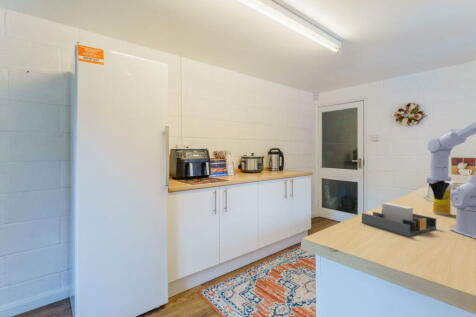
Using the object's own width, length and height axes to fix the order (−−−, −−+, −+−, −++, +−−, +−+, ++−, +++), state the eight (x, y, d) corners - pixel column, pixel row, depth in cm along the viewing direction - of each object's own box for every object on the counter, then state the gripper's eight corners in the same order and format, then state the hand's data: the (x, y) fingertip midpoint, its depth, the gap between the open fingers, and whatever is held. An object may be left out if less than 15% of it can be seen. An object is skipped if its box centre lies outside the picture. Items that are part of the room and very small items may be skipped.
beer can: (430, 213, 112) (430, 181, 111) (437, 211, 114) (437, 181, 114) (445, 216, 106) (446, 183, 106) (452, 214, 109) (453, 182, 108)
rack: (436, 228, 90) (436, 216, 90) (408, 236, 82) (408, 222, 82) (388, 217, 106) (389, 206, 106) (361, 222, 99) (361, 210, 98)
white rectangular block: (412, 225, 91) (412, 207, 90) (407, 226, 89) (408, 208, 89) (386, 219, 100) (386, 202, 99) (382, 220, 98) (382, 203, 98)
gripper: (437, 165, 105) (436, 196, 106) (418, 167, 99) (418, 199, 99) (457, 166, 99) (456, 198, 99) (438, 168, 93) (438, 202, 93)
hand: (438, 199), depth 99 cm, fingers closed
